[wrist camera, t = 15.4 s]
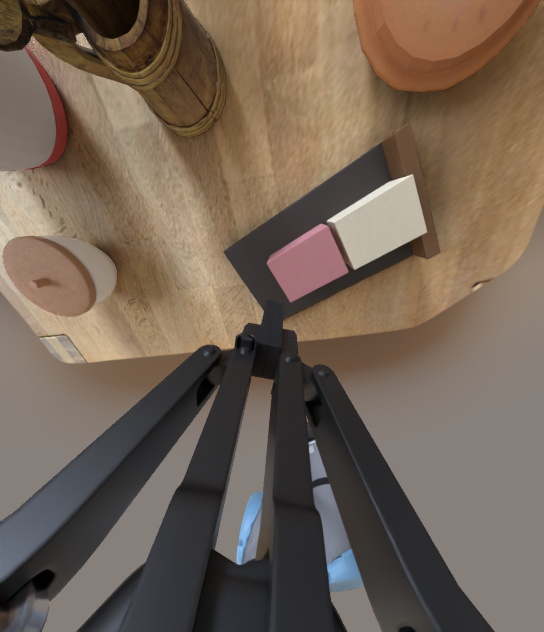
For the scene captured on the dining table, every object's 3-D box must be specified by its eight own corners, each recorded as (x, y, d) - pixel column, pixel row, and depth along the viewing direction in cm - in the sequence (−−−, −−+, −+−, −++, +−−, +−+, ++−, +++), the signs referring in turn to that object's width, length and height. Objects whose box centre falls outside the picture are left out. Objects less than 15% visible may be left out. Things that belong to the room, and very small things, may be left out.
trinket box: (144, 287, 33) (96, 311, 25) (96, 303, 35) (38, 330, 27) (101, 221, 29) (25, 224, 20) (49, 244, 31) (-38, 255, 23)
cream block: (403, 229, 25) (427, 232, 21) (343, 261, 27) (354, 270, 23) (388, 181, 23) (413, 173, 18) (325, 221, 25) (334, 222, 21)
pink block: (339, 263, 28) (349, 272, 23) (290, 289, 30) (290, 302, 26) (321, 223, 25) (328, 225, 21) (269, 255, 28) (266, 263, 23)
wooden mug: (93, 56, 21) (-526, -446, 5) (208, 1, 19) (-252, -1233, 3) (137, 157, 25) (-130, 59, 9) (236, 122, 23) (116, -94, 7)
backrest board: (418, 247, 27) (440, 253, 23) (273, 320, 34) (272, 334, 31) (388, 137, 22) (410, 121, 18) (225, 250, 29) (216, 255, 25)
